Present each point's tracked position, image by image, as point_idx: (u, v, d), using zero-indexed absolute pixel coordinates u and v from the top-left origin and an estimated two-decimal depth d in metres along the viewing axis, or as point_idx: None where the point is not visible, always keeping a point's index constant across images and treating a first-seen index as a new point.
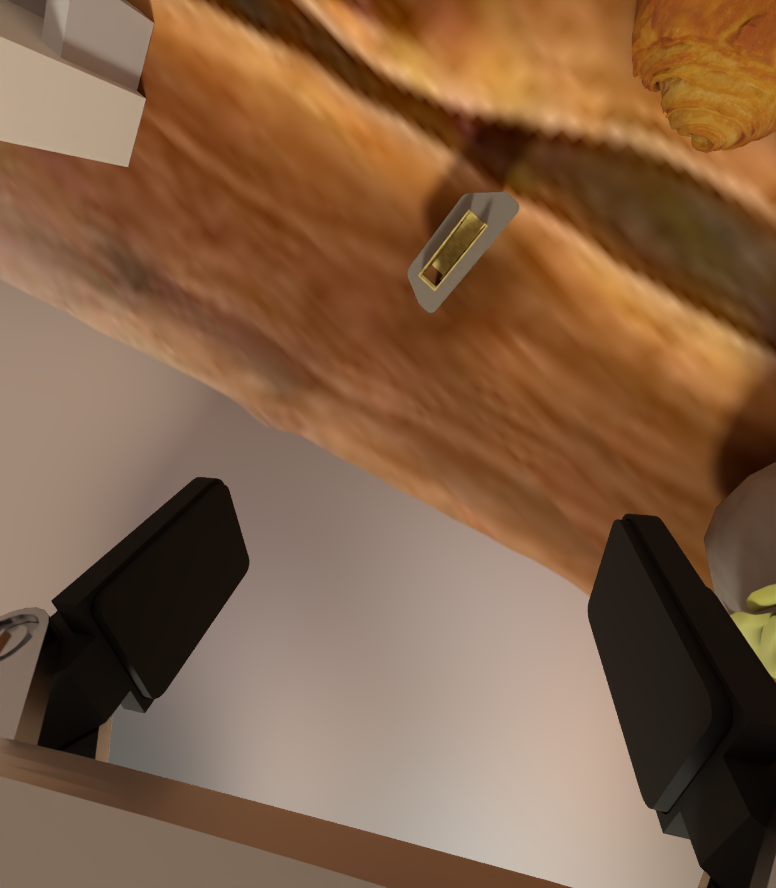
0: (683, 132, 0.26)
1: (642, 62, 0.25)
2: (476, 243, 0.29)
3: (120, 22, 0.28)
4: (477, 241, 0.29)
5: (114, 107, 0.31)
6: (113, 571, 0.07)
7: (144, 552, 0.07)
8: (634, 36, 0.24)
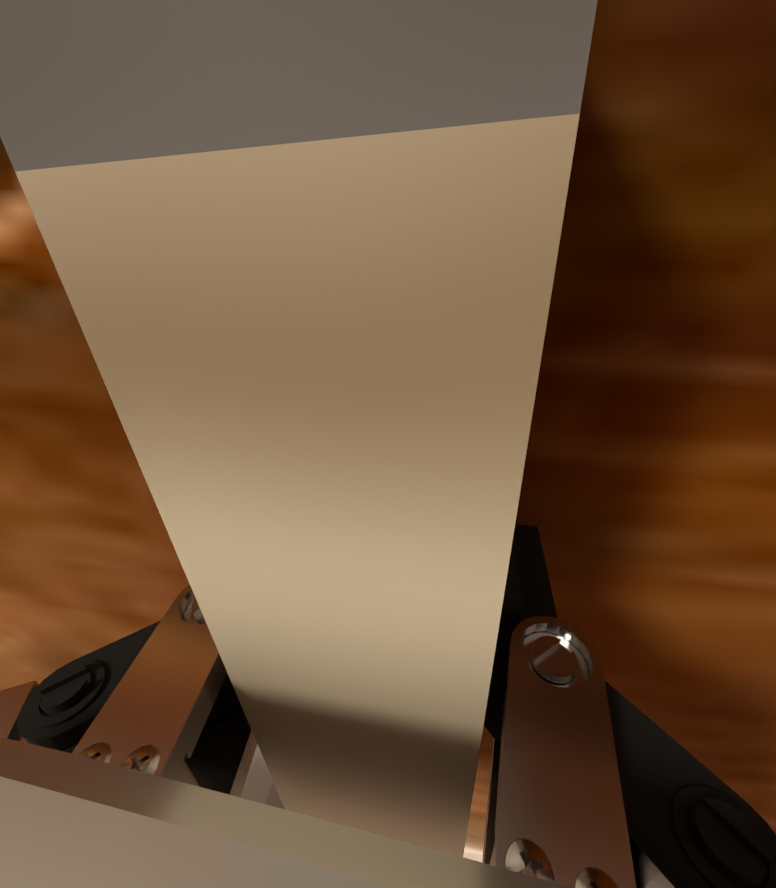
0: None
1: None
2: None
3: None
4: None
5: None
6: None
7: None
8: None
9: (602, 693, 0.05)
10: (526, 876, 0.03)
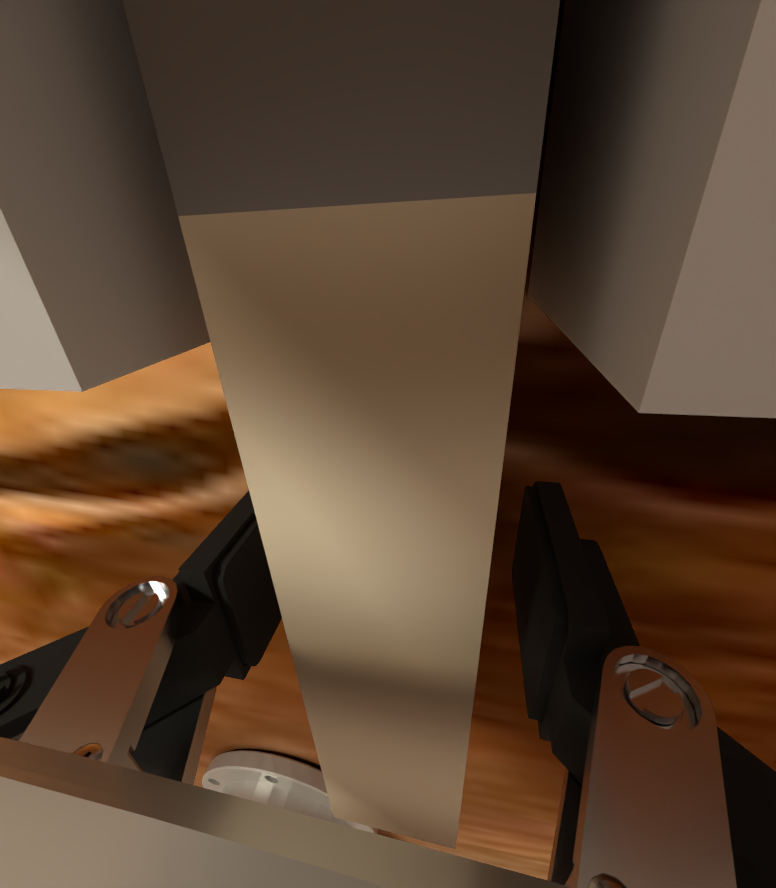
0: None
1: None
2: None
3: None
4: None
5: None
6: (227, 543, 0.07)
7: (247, 528, 0.08)
8: None
9: (713, 746, 0.04)
10: (526, 876, 0.03)
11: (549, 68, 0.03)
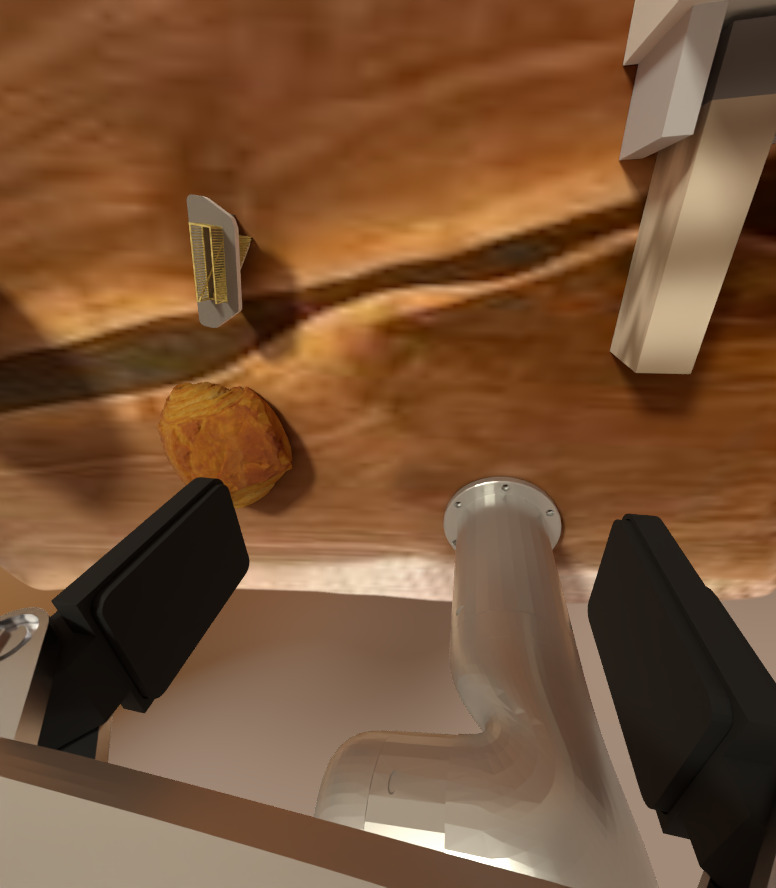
0: (195, 384, 0.40)
1: (243, 393, 0.40)
2: (204, 282, 0.32)
3: (639, 127, 0.23)
4: (205, 284, 0.32)
5: (647, 7, 0.21)
6: (113, 571, 0.07)
7: (144, 552, 0.07)
8: (256, 398, 0.40)
9: None
10: (526, 876, 0.03)
11: None
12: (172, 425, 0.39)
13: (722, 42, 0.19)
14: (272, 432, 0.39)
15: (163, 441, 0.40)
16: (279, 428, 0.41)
